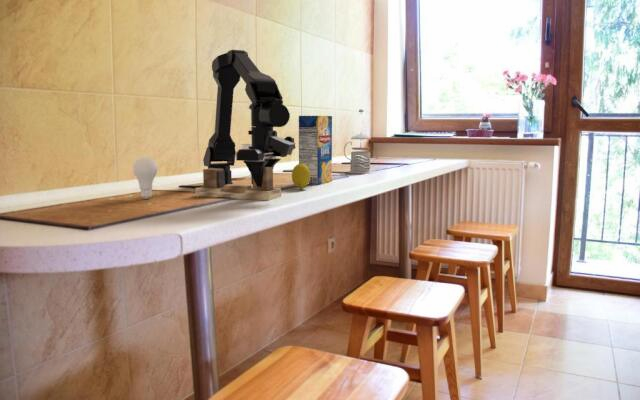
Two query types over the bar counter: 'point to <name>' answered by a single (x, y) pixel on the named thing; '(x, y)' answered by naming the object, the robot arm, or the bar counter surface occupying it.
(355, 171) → the french press
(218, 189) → the rail
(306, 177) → the lemon
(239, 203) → the bar counter surface
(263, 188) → the beige cardboard cube
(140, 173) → the lightbulb
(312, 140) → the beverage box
